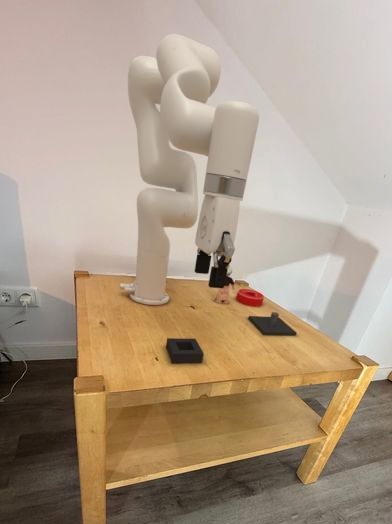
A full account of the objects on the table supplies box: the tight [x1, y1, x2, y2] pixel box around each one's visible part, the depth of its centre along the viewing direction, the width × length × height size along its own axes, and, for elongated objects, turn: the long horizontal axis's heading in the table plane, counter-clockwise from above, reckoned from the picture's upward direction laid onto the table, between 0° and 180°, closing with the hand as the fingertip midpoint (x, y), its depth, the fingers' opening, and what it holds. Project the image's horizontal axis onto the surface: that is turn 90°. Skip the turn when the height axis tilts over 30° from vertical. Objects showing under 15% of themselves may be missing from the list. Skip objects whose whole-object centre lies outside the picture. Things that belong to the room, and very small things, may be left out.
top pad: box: [165, 337, 205, 365], centre depth 68 cm, size 7×7×2 cm
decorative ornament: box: [235, 288, 265, 307], centre depth 109 cm, size 10×10×3 cm
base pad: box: [247, 311, 297, 336], centre depth 91 cm, size 11×11×4 cm
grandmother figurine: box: [215, 265, 236, 305], centre depth 101 cm, size 8×4×13 cm, turn 111°
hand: (208, 279), depth 63 cm, fingers open, 9 cm apart
